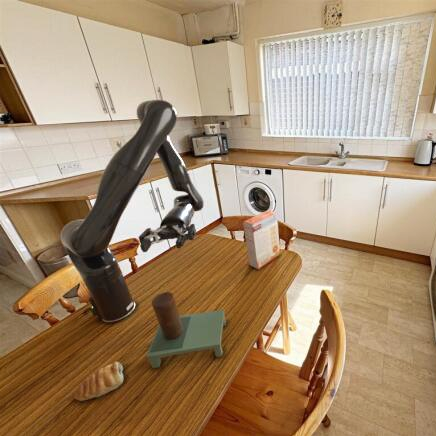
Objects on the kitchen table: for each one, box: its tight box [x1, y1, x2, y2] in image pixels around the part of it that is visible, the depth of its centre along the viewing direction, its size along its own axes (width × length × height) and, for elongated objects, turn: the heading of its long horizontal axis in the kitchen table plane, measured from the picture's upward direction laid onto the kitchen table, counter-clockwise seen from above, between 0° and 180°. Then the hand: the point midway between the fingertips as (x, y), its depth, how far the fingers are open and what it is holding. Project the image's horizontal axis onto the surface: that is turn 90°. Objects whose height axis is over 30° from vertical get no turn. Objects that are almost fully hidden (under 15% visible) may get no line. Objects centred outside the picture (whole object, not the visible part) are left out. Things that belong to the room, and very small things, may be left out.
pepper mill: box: [151, 291, 184, 340], centre depth 63 cm, size 5×5×12 cm
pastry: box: [73, 361, 125, 402], centre depth 57 cm, size 9×7×4 cm
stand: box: [145, 309, 227, 369], centre depth 67 cm, size 18×12×5 cm, turn 99°
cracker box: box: [242, 209, 281, 270], centre depth 100 cm, size 14×6×21 cm, turn 141°
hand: (160, 247), depth 63 cm, fingers open, 8 cm apart
